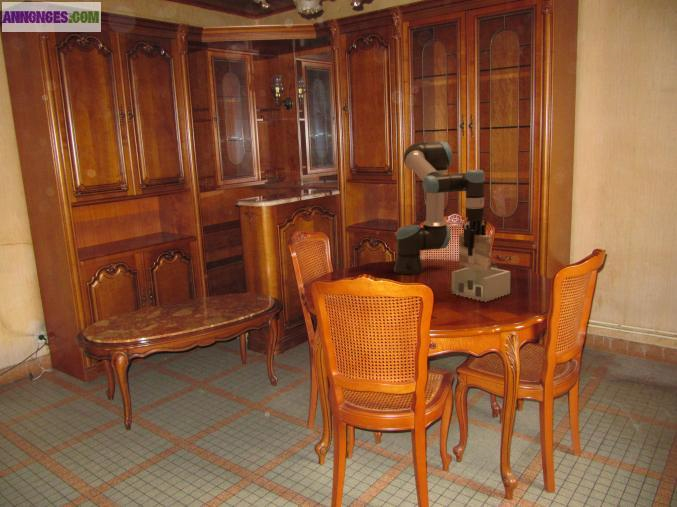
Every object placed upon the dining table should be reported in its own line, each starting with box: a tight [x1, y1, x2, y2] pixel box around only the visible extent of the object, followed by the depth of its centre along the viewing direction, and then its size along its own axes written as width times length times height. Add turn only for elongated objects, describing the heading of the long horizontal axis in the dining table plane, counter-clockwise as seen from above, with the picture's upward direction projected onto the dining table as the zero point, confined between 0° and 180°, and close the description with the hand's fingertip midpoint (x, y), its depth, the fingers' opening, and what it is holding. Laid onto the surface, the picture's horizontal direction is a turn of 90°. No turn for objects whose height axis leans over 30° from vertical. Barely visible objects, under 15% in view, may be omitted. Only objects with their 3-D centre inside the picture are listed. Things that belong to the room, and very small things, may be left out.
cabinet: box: [451, 267, 511, 303], centre depth 250 cm, size 17×18×10 cm
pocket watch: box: [491, 260, 499, 269], centre depth 268 cm, size 8×8×10 cm
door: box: [458, 232, 492, 271], centre depth 244 cm, size 5×14×14 cm, turn 39°
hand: (474, 262), depth 245 cm, fingers closed on door, 3 cm apart
